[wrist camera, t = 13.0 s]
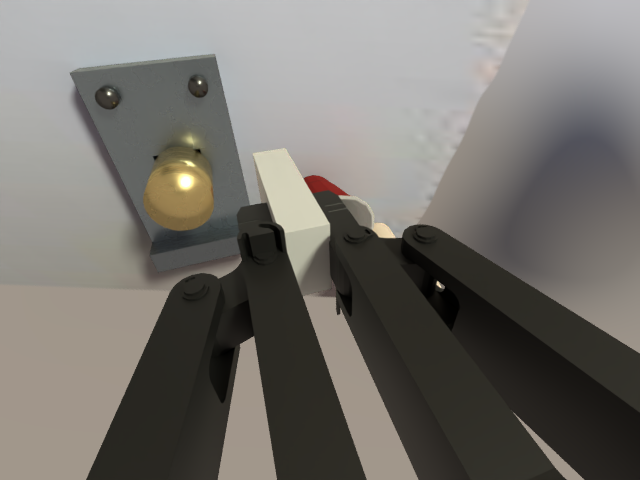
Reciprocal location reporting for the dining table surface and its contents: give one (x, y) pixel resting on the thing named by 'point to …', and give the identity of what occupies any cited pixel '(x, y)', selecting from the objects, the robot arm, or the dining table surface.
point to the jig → (169, 143)
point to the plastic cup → (344, 200)
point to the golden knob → (180, 189)
